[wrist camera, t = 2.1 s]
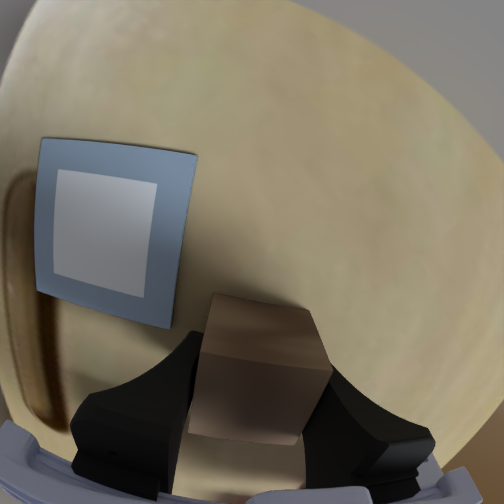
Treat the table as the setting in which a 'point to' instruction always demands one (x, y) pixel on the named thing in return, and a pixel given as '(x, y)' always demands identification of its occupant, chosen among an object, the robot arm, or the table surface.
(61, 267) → the pad
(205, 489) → the table surface
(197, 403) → the walnut cube
